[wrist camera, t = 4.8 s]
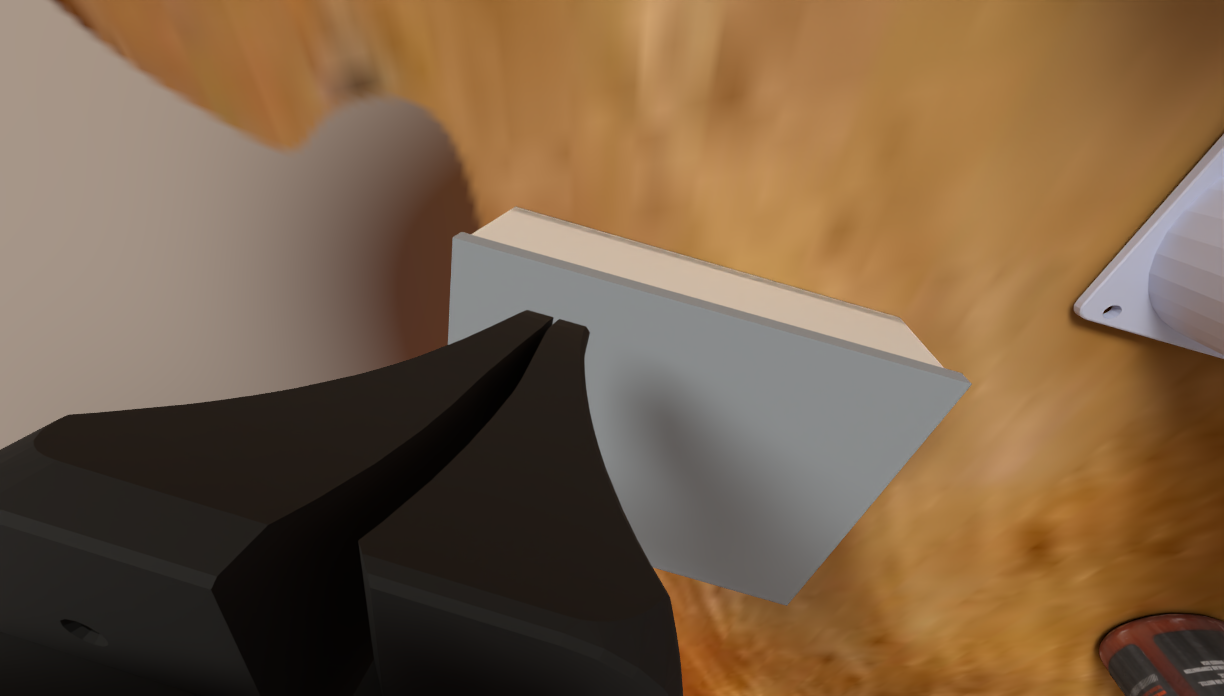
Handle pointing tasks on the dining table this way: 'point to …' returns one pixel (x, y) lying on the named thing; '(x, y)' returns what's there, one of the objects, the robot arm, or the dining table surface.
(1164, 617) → the supplement bottle
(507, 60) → the dining table surface
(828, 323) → the storage box
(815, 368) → the lid
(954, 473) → the dining table surface
